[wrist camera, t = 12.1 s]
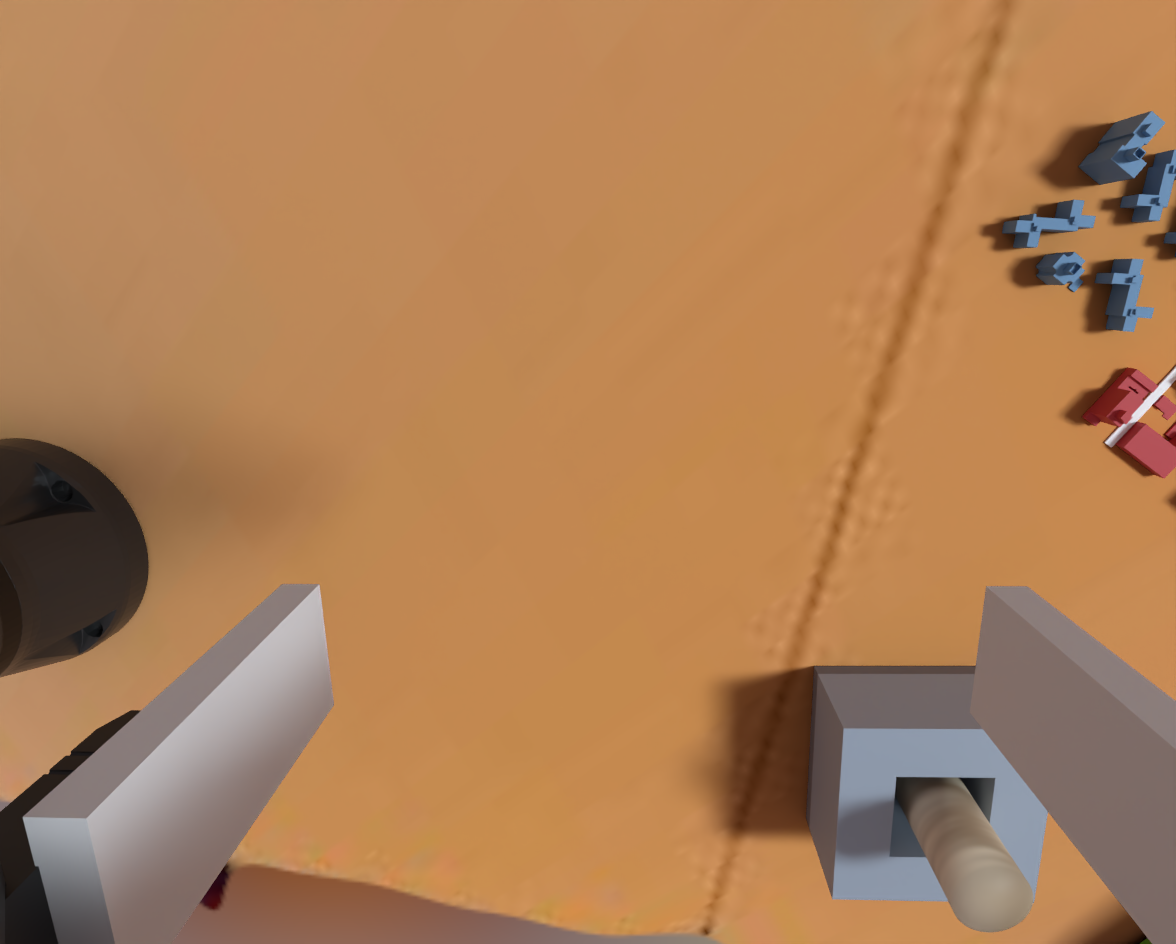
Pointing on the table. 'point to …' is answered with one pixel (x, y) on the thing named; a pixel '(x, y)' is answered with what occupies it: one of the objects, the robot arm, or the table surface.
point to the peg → (965, 853)
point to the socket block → (903, 749)
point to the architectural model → (1118, 282)
